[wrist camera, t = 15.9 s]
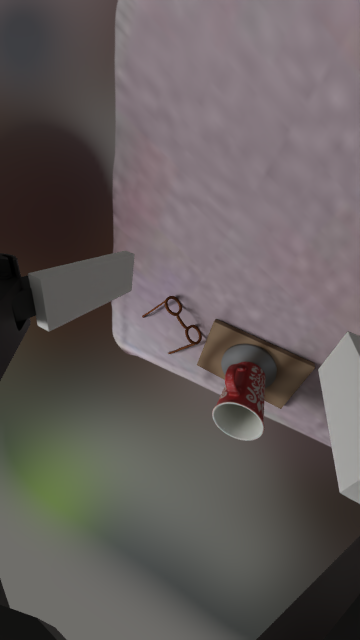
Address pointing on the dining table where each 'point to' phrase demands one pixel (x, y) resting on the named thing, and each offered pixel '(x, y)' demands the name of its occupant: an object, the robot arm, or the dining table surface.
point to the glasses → (180, 322)
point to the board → (255, 361)
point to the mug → (242, 402)
